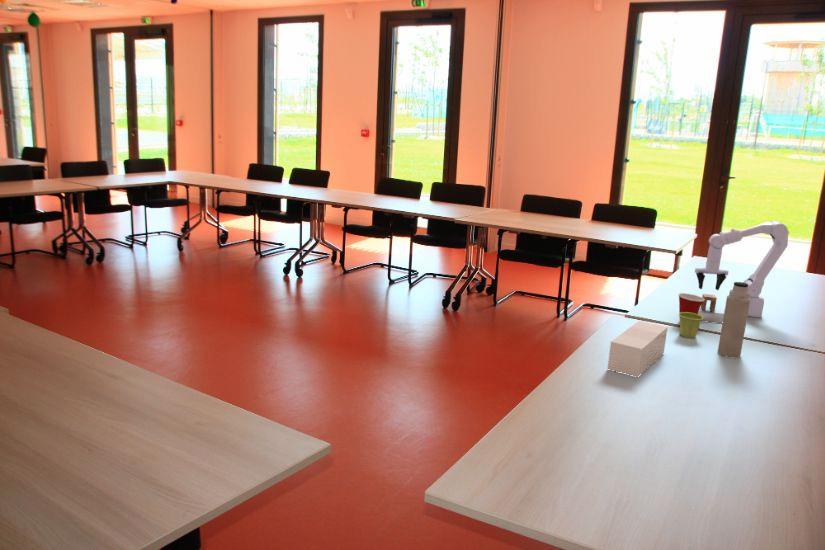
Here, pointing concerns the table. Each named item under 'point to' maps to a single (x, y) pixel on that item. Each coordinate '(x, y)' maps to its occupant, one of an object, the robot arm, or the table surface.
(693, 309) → the plastic cup
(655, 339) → the beige rectangular block
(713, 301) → the stool
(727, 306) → the thermos bottle
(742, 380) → the table surface
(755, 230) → the robot arm
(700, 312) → the mat
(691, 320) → the plant pot
